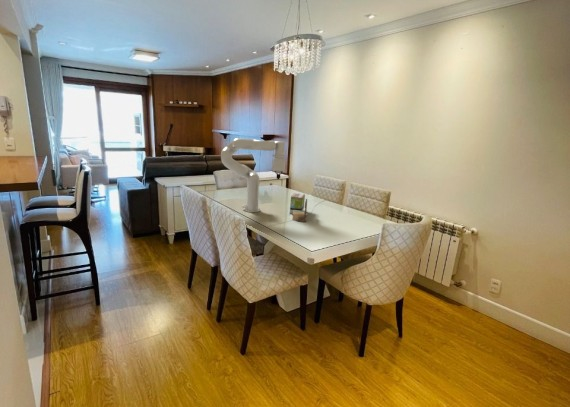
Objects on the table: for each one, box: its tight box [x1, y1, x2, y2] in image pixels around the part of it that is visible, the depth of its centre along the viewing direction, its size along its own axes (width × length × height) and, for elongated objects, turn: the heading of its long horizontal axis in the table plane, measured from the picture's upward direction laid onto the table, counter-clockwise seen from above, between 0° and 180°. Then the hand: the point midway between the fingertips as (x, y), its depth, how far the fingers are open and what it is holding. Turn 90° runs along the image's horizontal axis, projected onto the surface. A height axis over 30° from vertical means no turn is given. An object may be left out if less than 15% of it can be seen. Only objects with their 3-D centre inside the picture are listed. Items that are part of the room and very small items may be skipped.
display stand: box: [297, 198, 308, 223], centre depth 240 cm, size 6×19×14 cm, turn 175°
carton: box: [292, 210, 305, 221], centre depth 241 cm, size 9×12×5 cm
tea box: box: [289, 192, 306, 215], centre depth 257 cm, size 15×10×15 cm, turn 168°
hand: (278, 179), depth 253 cm, fingers closed
